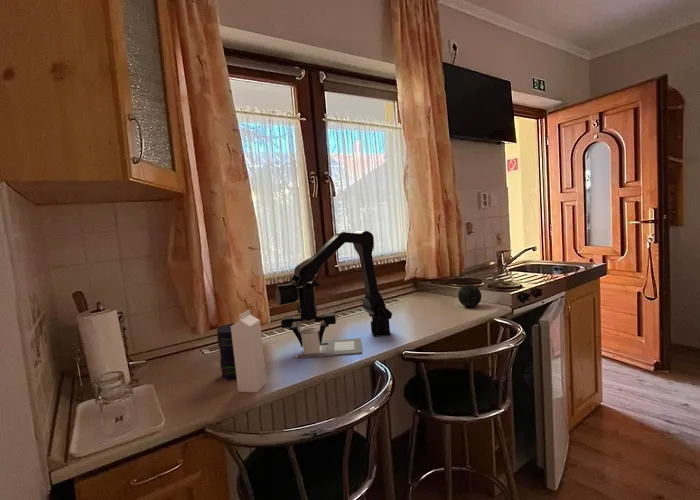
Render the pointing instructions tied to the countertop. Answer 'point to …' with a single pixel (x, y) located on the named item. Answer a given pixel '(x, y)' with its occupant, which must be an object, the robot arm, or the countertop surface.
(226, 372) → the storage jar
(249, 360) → the milk
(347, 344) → the label board
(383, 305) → the robot arm
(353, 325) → the countertop surface
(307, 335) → the shot glass
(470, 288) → the decorative stone
